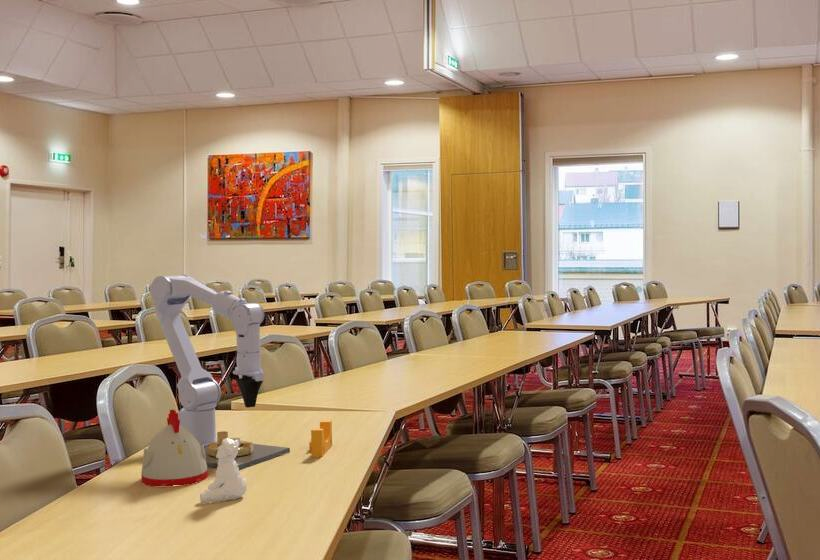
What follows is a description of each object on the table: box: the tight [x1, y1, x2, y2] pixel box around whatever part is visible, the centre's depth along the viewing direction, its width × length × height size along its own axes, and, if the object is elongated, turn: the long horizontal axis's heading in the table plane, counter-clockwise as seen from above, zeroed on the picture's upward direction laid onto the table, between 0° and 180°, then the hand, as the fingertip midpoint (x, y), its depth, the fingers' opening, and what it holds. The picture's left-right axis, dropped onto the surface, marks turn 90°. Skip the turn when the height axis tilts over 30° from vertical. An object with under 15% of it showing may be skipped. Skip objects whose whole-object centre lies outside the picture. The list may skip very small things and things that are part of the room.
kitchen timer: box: [140, 409, 209, 487], centre depth 198 cm, size 14×14×15 cm
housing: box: [204, 437, 291, 471], centre depth 218 cm, size 20×20×4 cm
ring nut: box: [207, 431, 255, 457], centre depth 218 cm, size 11×10×6 cm
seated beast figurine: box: [199, 437, 247, 504], centre depth 183 cm, size 10×9×12 cm
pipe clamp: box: [308, 420, 333, 458], centre depth 222 cm, size 12×4×6 cm, turn 174°
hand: (250, 406), depth 226 cm, fingers closed
